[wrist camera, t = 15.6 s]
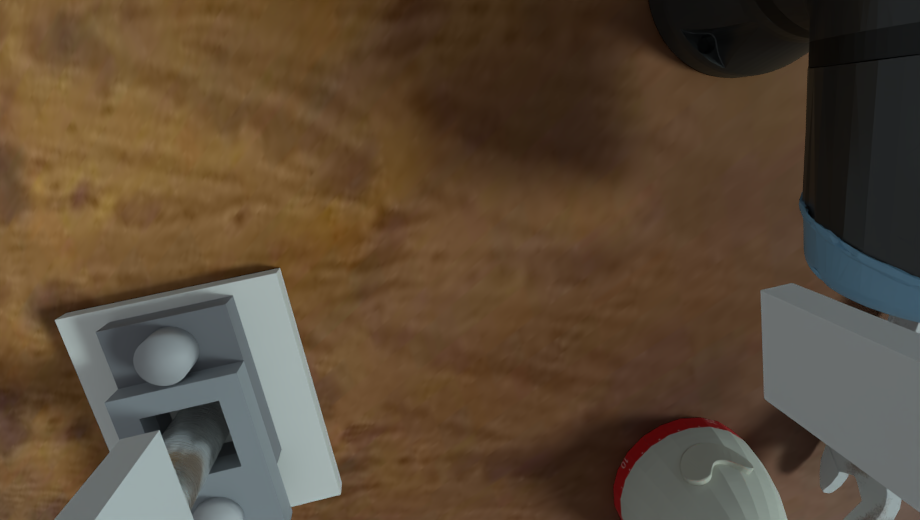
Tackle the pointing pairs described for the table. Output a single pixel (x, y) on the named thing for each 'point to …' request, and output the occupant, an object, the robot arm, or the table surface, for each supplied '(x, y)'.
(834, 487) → the wrench
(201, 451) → the pin
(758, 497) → the kitchen timer
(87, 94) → the table surface
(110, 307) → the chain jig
